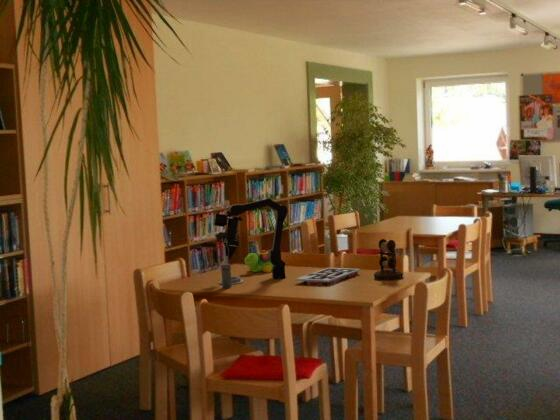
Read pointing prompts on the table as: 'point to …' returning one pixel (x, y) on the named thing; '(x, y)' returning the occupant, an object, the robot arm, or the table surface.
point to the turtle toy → (259, 262)
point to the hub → (234, 280)
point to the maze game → (328, 276)
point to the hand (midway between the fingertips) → (228, 257)
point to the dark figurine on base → (387, 260)
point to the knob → (226, 275)
